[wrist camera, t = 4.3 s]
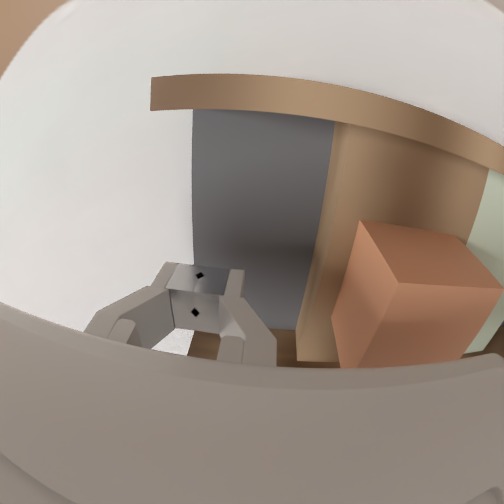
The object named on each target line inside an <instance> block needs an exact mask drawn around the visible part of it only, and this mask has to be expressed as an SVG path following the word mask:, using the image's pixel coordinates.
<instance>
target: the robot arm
mask: <svg viewBox="0 0 504 504" xmlns="http://www.w3.org/2000/svg"><path fill="white" fill-rule="evenodd" d="M244 278H245V271H244V270H241V269H224V268H212V267H205V266H197V265H189V264H181V263H173V262H166V263H164V265H163V266H162V268H161V270H160V271H159V273H158V275H157V276H156V278H155V280H154V281H153V283H152V285H151V286H146V287H144V288H142V289H140V290H138V291H136V292H134V293H132V294H130V295H128V296H126V297H124V298H122V299H120V300H118V301H117V302H115V303H113V304H111V305H109V306H107V307H105V308H103V309H101V310H99V311H97V312H96V314H95V315H94V317H93V318H92V320H91V321H90V323H89V324H88V326H87V327H86V329H85V331H84V332H81V331H78V330H74V329H71V328H68V327H65V326H62V325H59V324H56V323H53V322H50V321H47V320H44V319H42V318H39V317H36V316H34V315H31V314H28V313H26V312H23V311H21V310H18V309H16V308H13V307H11V306H9V305H6V304H4V303H2V302H0V504H504V358H503V357H501V356H500V355H498V354H495V353H490V354H484V355H480V356H474V357H469V358H463V359H457V360H450V361H443V362H435V363H427V364H417V365H407V366H393V367H376V368H295V367H277V366H276V356H277V339H276V338H275V337H274V336H273V334H272V333H271V332H270V330H269V329H268V328H267V327H266V325H265V324H264V323H263V322H262V320H261V319H260V318H259V316H258V315H257V314H256V313H255V311H254V310H253V309H252V307H251V306H250V305H249V304H248V302H247V301H246V300H245V298H243V293H244ZM175 328H180V329H188V330H196V331H202V332H208V333H215V334H220V337H221V342H220V347H219V351H218V355H217V360H210V359H204V358H197V357H191V356H185V355H179V354H173V353H168V352H163V351H157V350H152V349H151V348H152V347H154V346H155V345H156V344H157V343H158V342H160V341H161V340H162V339H163V338H164V337H166V336H167V335H168V334H169V333H170V332H172V331H173V330H174V329H175Z"/></svg>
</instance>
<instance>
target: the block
mask: <svg viewBox="0 0 504 504" xmlns="http://www.w3.org/2000/svg"><path fill="white" fill-rule="evenodd" d="M503 291H504V288H503V286H502V285H501V284H500V283H499V282H498V280H497V279H496V278H495V277H494V276H493V275H492V274H491V272H490V271H489V270H488V269H487V268H486V267H485V266H484V265H483V264H482V262H481V261H480V260H479V259H478V258H477V257H476V256H475V255H474V254H473V253H472V252H471V251H470V250H469V249H468V248H467V247H466V246H465V245H464V244H463V243H462V242H461V241H460V240H459V239H458V238H457V237H456V236H455V235H450V234H445V233H439V232H434V231H428V230H422V229H417V228H411V227H405V226H398V225H392V224H386V223H379V222H372V221H365V220H359V224H358V228H357V232H356V236H355V240H354V244H353V247H352V251H351V255H350V258H349V262H348V265H347V269H346V272H345V275H344V279H343V282H342V285H341V288H340V292H339V295H338V298H337V301H336V304H335V307H334V310H333V313H332V316H331V320H332V325H333V330H334V335H335V340H336V346H337V351H338V356H339V362H340V368H376V367H393V366H407V365H417V364H427V363H435V362H443V361H450V360H457V359H460V358H461V356H462V355H463V354H464V352H465V351H466V350H467V348H468V347H469V345H470V344H471V343H472V341H473V340H474V338H475V337H476V335H477V334H478V332H479V331H480V329H481V328H482V326H483V325H484V323H485V322H486V320H487V318H488V317H489V315H490V314H491V312H492V310H493V309H494V307H495V305H496V303H497V302H498V300H499V298H500V296H501V294H502V293H503Z"/></svg>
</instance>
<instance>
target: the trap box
mask: <svg viewBox="0 0 504 504" xmlns="http://www.w3.org/2000/svg"><path fill="white" fill-rule="evenodd" d="M177 109H193V128H192V223H193V251H194V265H197V266H205V267H212V268H224V269H241V270H244V271H245V278H244V293H243V298H245V300H246V301H247V302H248V304H249V305H250V306H251V307H252V309H253V310H254V311H255V313H256V314H257V315H258V316H259V318H260V319H261V320H262V322H263V323H264V324H265V325H266V327H267V328H268V329H269V330H270V332H271V333H272V334H273V336H274V337H275V338H276V339H277V356H276V366H277V367H295V368H340V362H339V356H338V351H337V346H336V340H335V335H334V330H333V325H332V320H331V316H332V313H333V310H334V307H335V304H336V301H337V298H338V295H339V292H340V288H341V285H342V282H343V279H344V275H345V272H346V269H347V265H348V262H349V258H350V255H351V251H352V247H353V244H354V240H355V236H356V232H357V228H358V224H359V220H365V221H372V222H379V223H386V224H392V225H398V226H405V227H411V228H417V229H422V230H428V231H434V232H439V233H445V234H450V235H455V236H456V237H457V238H458V239H459V240H460V241H461V242H462V243H463V244H464V245H465V246H466V247H467V248H468V249H469V250H470V251H471V252H472V253H473V254H474V255H475V256H476V257H477V258H478V259H479V260H480V261H481V262H482V264H483V265H484V266H485V267H486V268H487V269H488V270H489V271H490V272H491V274H492V275H493V276H494V277H495V278H496V279H497V280H498V282H499V283H500V284H501V285H502V286H503V288H504V147H503V146H501V145H500V144H498V143H496V142H494V141H492V140H491V139H489V138H487V137H485V136H483V135H481V134H479V133H477V132H475V131H473V130H471V129H469V128H467V127H465V126H463V125H460V124H458V123H456V122H454V121H451V120H449V119H447V118H444V117H442V116H439V115H437V114H434V113H432V112H429V111H427V110H424V109H421V108H418V107H416V106H413V105H410V104H407V103H404V102H401V101H397V100H394V99H391V98H387V97H384V96H380V95H377V94H373V93H369V92H365V91H361V90H357V89H352V88H348V87H343V86H338V85H333V84H328V83H322V82H316V81H309V80H303V79H295V78H286V77H277V76H265V75H249V74H190V75H174V76H162V77H152V79H151V104H150V111H157V110H177ZM220 342H221V337H220V334H215V333H208V332H202V331H196V330H195V331H194V335H193V338H192V341H191V344H190V348H189V351H188V354H187V356H191V357H197V358H204V359H210V360H217V355H218V351H219V347H220ZM490 353H495V354H498V355H500V356H501V357H503V358H504V291H503V293H502V294H501V296H500V298H499V300H498V302H497V303H496V305H495V307H494V309H493V310H492V312H491V314H490V315H489V317H488V318H487V320H486V322H485V323H484V325H483V326H482V328H481V329H480V331H479V332H478V334H477V335H476V337H475V338H474V340H473V341H472V343H471V344H470V345H469V347H468V348H467V350H466V351H465V352H464V354H463V355H462V356H461V358H460V359H463V358H469V357H474V356H480V355H484V354H490Z"/></svg>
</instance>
